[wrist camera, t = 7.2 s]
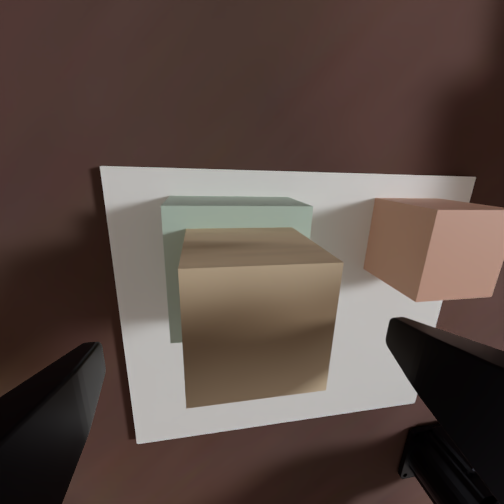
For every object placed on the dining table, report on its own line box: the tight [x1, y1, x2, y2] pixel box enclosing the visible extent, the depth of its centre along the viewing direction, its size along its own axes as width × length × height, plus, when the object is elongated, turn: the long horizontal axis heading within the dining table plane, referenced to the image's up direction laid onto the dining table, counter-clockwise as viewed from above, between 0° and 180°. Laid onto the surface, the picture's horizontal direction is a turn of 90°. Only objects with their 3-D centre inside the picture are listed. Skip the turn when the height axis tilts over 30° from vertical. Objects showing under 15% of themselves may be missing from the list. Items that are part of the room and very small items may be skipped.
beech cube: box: [178, 227, 344, 409], centre depth 11 cm, size 5×5×5 cm
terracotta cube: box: [363, 198, 504, 302], centre depth 17 cm, size 5×5×5 cm
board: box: [100, 166, 476, 444], centre depth 20 cm, size 20×24×1 cm
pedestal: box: [161, 196, 313, 343], centre depth 15 cm, size 7×7×4 cm
